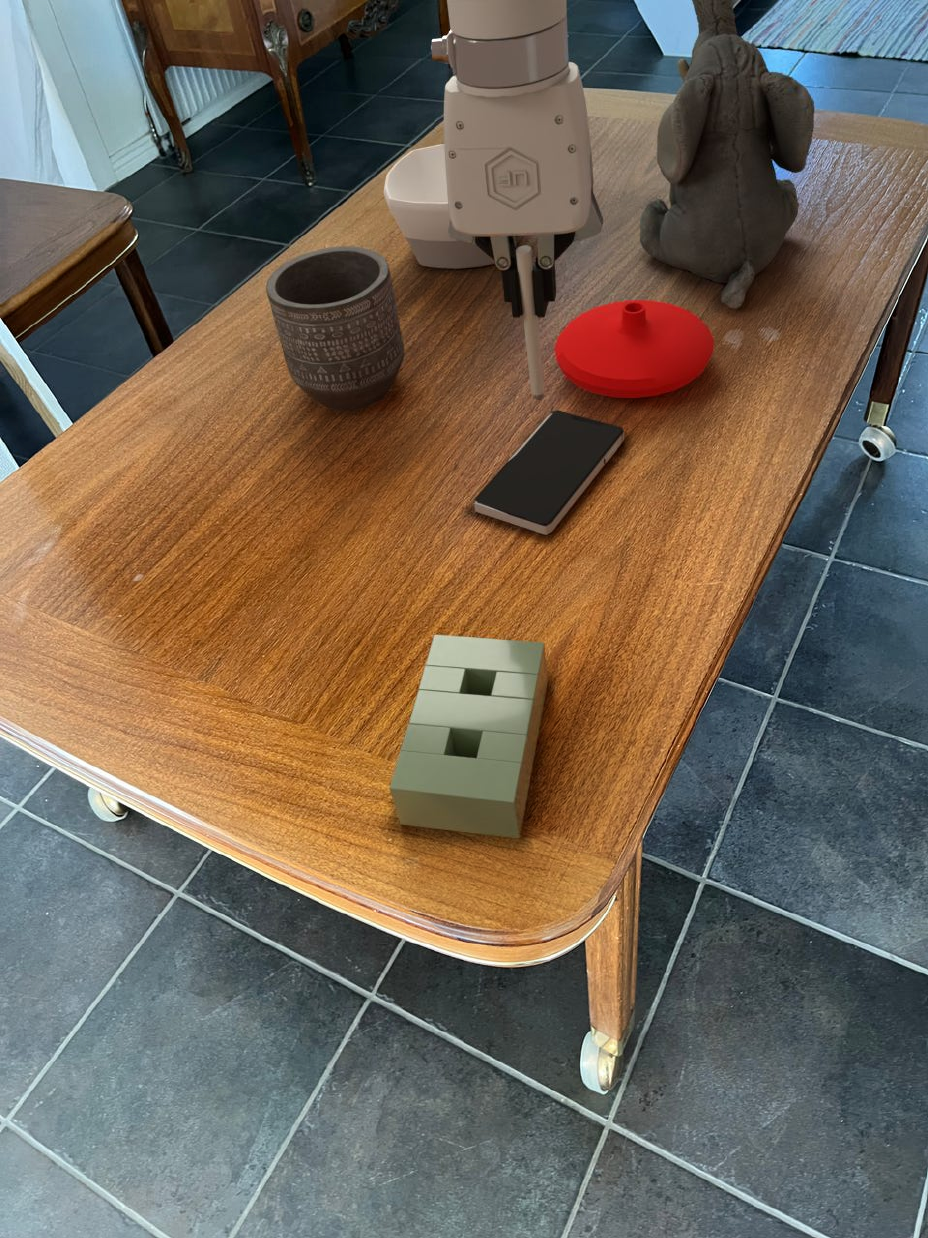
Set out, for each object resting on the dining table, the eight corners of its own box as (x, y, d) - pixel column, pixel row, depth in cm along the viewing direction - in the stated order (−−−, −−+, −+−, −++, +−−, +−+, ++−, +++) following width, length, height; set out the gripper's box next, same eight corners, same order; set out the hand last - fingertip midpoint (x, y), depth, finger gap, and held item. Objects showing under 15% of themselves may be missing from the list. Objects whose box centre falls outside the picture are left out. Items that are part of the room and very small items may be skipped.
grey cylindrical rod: (546, 394, 83) (532, 244, 72) (544, 403, 82) (530, 253, 71) (532, 394, 83) (517, 245, 72) (530, 403, 82) (514, 254, 72)
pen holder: (442, 672, 74) (434, 633, 71) (548, 681, 72) (544, 642, 69) (400, 824, 65) (388, 788, 62) (519, 839, 64) (514, 802, 60)
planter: (393, 345, 107) (371, 234, 98) (424, 402, 99) (404, 286, 90) (287, 375, 105) (255, 264, 96) (309, 435, 97) (277, 321, 88)
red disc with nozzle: (604, 316, 106) (603, 255, 101) (738, 349, 99) (745, 285, 94) (526, 390, 98) (521, 328, 93) (665, 433, 91) (668, 368, 86)
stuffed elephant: (692, 200, 122) (706, -52, 103) (839, 244, 111) (887, -30, 91) (590, 262, 115) (584, 2, 95) (737, 316, 103) (765, 33, 83)
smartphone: (470, 501, 86) (552, 408, 94) (471, 511, 87) (553, 418, 94) (549, 527, 82) (627, 428, 90) (550, 537, 83) (627, 438, 91)
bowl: (382, 284, 117) (367, 207, 110) (411, 216, 129) (399, 143, 122) (527, 279, 113) (521, 200, 107) (543, 210, 125) (539, 135, 118)
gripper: (384, 81, 63) (427, 334, 76) (624, 64, 59) (625, 333, 72) (411, 42, 67) (447, 286, 81) (634, 24, 64) (634, 283, 77)
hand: (531, 307), depth 76 cm, fingers closed on grey cylindrical rod, 1 cm apart
